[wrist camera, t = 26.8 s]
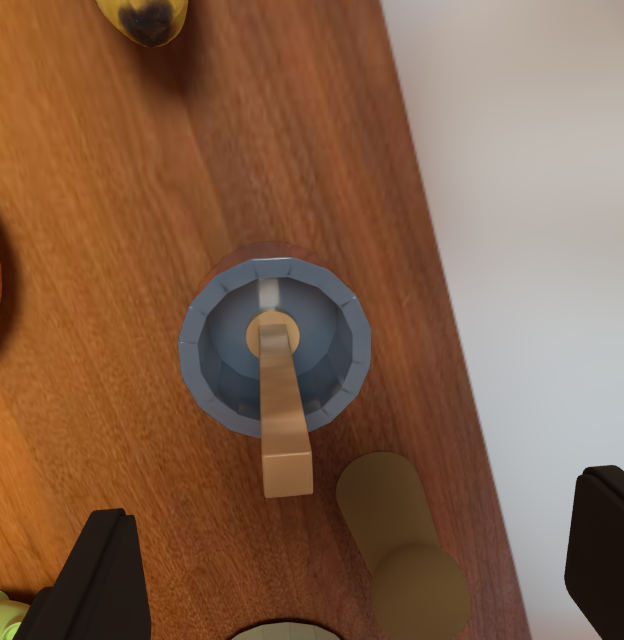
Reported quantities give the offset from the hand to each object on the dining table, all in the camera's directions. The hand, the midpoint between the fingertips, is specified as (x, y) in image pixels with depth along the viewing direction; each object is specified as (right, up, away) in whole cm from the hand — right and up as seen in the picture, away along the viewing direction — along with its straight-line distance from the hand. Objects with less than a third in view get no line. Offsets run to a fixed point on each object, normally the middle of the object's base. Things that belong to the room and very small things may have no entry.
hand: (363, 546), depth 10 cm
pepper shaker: (+4, -7, +25) cm, 26 cm away
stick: (-3, +4, +20) cm, 21 cm away
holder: (-3, +5, +20) cm, 21 cm away
